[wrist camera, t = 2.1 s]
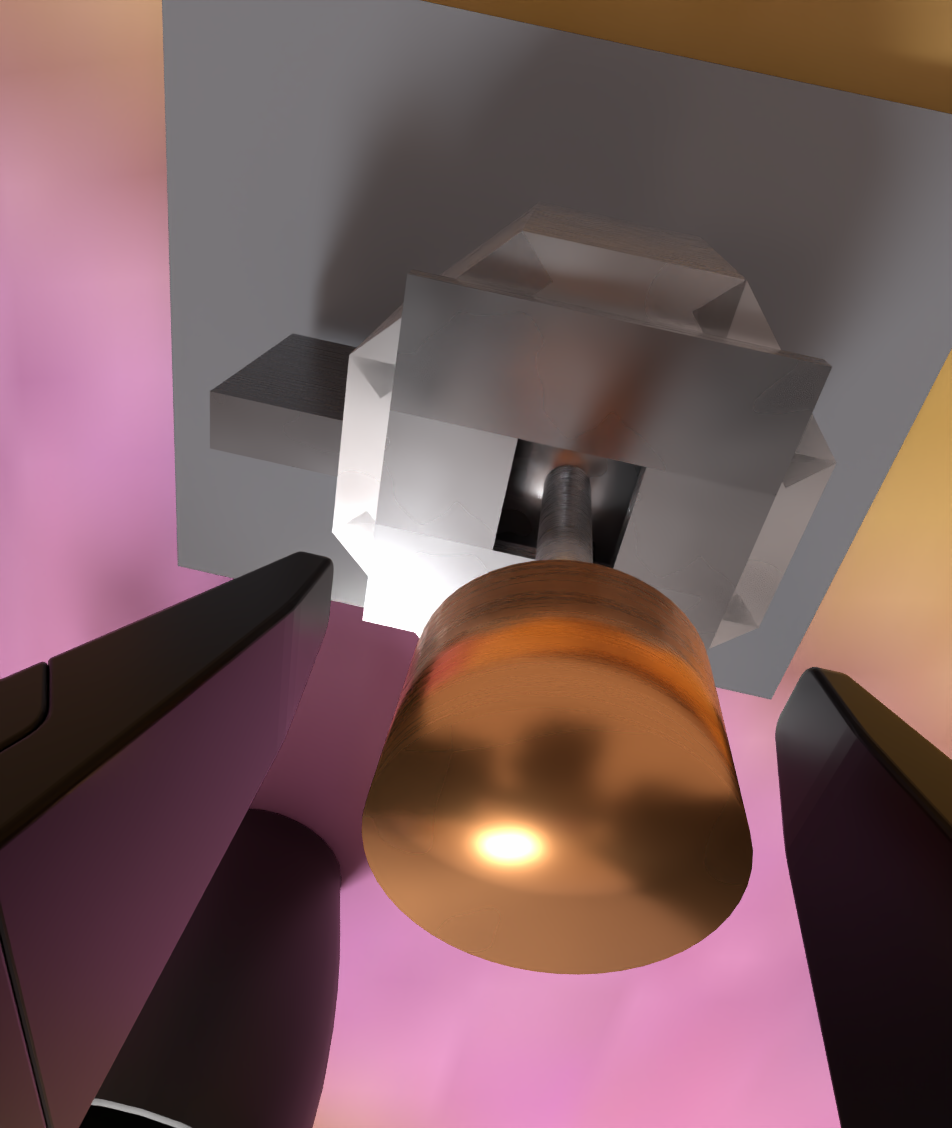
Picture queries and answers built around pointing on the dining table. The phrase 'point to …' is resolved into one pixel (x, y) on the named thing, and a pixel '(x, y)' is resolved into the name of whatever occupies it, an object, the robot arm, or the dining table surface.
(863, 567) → the dining table surface
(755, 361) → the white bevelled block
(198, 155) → the slate board
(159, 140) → the dining table surface
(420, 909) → the plunger
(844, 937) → the robot arm
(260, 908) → the mug
